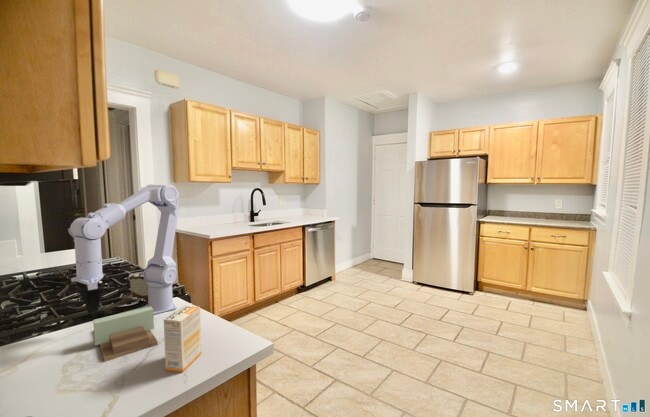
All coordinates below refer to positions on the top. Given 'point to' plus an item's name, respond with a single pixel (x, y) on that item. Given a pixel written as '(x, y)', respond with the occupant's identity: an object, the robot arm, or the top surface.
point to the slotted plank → (109, 352)
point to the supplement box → (182, 338)
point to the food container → (138, 285)
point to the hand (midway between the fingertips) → (91, 307)
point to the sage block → (122, 323)
